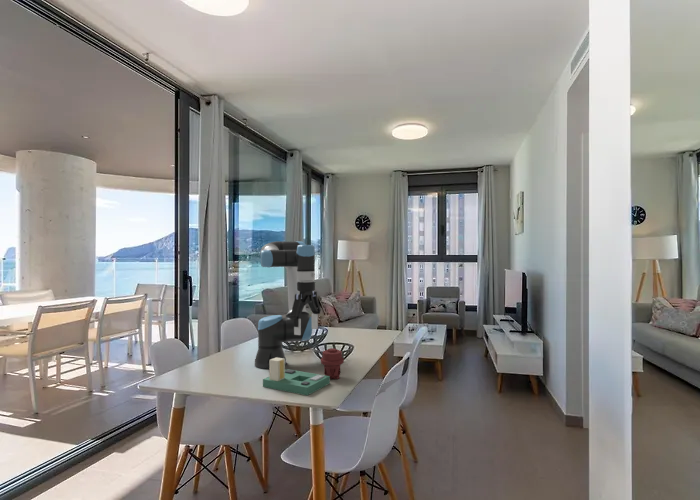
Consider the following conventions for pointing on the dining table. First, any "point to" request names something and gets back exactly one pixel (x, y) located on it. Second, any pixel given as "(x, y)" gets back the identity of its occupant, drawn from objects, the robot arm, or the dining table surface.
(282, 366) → the plug
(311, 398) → the dining table surface
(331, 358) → the mechanical component
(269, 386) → the board
